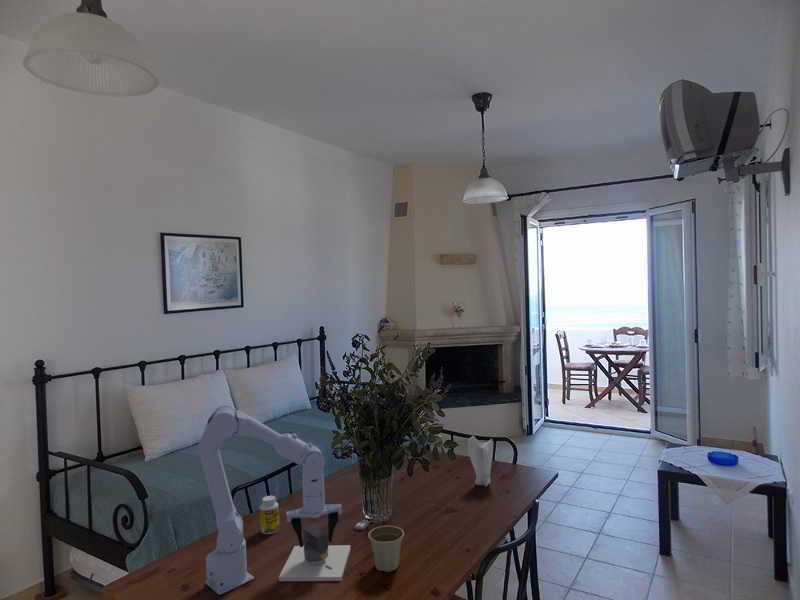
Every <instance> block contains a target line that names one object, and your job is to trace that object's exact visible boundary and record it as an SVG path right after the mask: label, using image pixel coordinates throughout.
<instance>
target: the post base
mask: <svg viewBox="0 0 800 600" xmlns="http://www.w3.org/2000/svg"><path fill="white" fill-rule="evenodd" d="M351 548H352V547H351V545H350V544H349V545H348V544H347V545H344V544H343V545H341V544H339V545H338V544H336V545H328V557H327V558H326V559H324V560H322V561H318V562H309V561H306V560H305V559H304V545H303V547H300V545H294V547H293V549H292V551H291V552H290V554H289V556H288V558H287V560H286V563H285V564H284V566H283V568H282V570H281V572H280V574H279V576H278V582H342V579H343V576H344V572H345V569H346V565H347V563H348V559H349V557H350V556H349V555H350V553H351Z"/></svg>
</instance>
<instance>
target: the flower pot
mask: <svg viewBox="0 0 800 600" xmlns="http://www.w3.org/2000/svg"><path fill="white" fill-rule="evenodd" d="M367 535H368V539H369V540H370V543H371V547H372V553H373V559H374V565H375V568H376V570H378V571H379V572H382V571H383V572H386V573H387V572H392V571H393V572H394V571H395V570H396V569H398V567H399V565H400V556H401V555H400V554H401V548H402V547H401V545H402V542H403V538H404V536H405V531H404V530H403V529H402V528H401V527H398V526H394V525H381V526H378V527H375V528H372V529H371V530H370V531H369V532H368V533H367Z"/></svg>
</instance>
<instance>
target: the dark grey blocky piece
mask: <svg viewBox="0 0 800 600" xmlns="http://www.w3.org/2000/svg"><path fill="white" fill-rule="evenodd" d="M302 530H303V533H302V535H303V542H304V544H303V546H304V559H305V560H306V561H309V562H318V561H322V560H324V559H326V558H327V557H328V546H329V540H328V533H327V534H326V532H324V531H323V530H321V529H320V528H318V527H317V526H315V525H314V524H312V525H308V526H306V527H303V529H302Z"/></svg>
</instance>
